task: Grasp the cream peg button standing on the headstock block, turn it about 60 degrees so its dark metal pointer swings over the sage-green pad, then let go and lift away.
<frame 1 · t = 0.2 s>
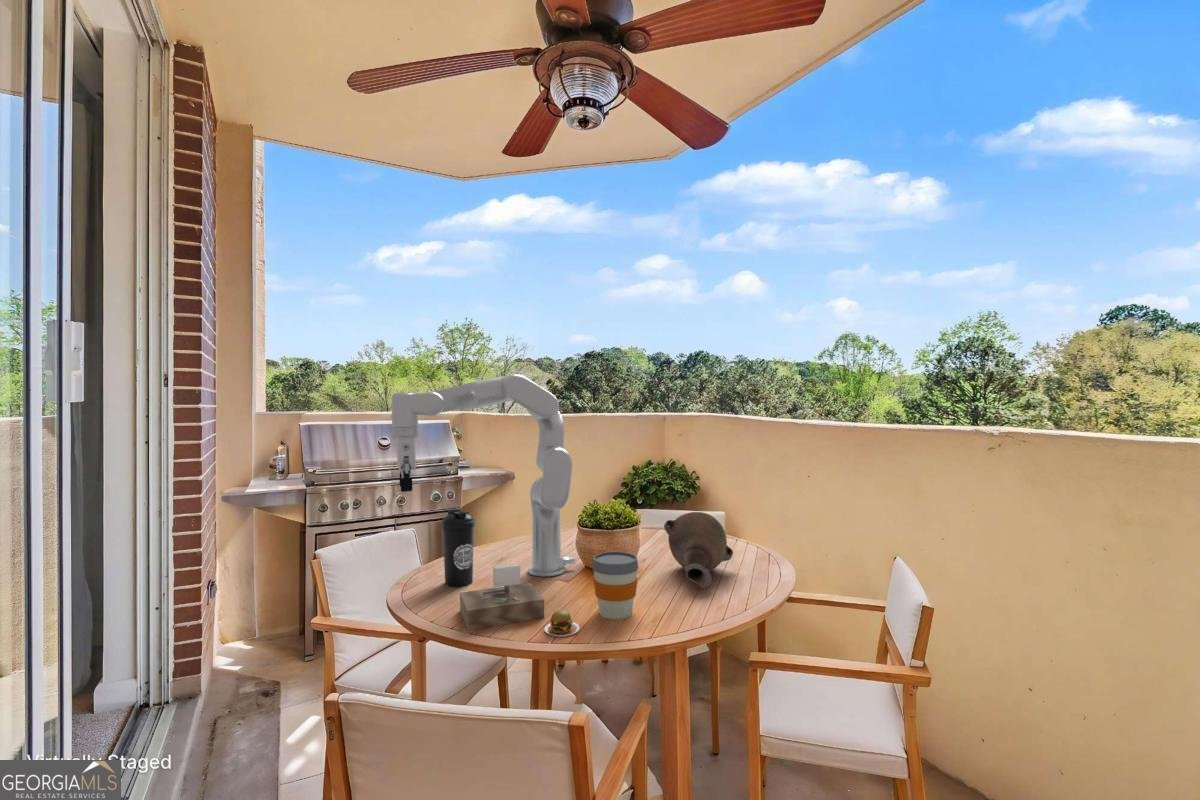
hand: (405, 488, 172), 31 cm above the table, fingers open, 9 cm apart
jug: (697, 576, 184), on the table
headstock: (501, 614, 153), on the table
peg: (501, 579, 155), point 9 cm above the table, hinge at 0.0°
hamburger: (562, 633, 142), on the table
water bottle: (458, 583, 179), on the table
reusable coffee cup: (615, 613, 153), on the table
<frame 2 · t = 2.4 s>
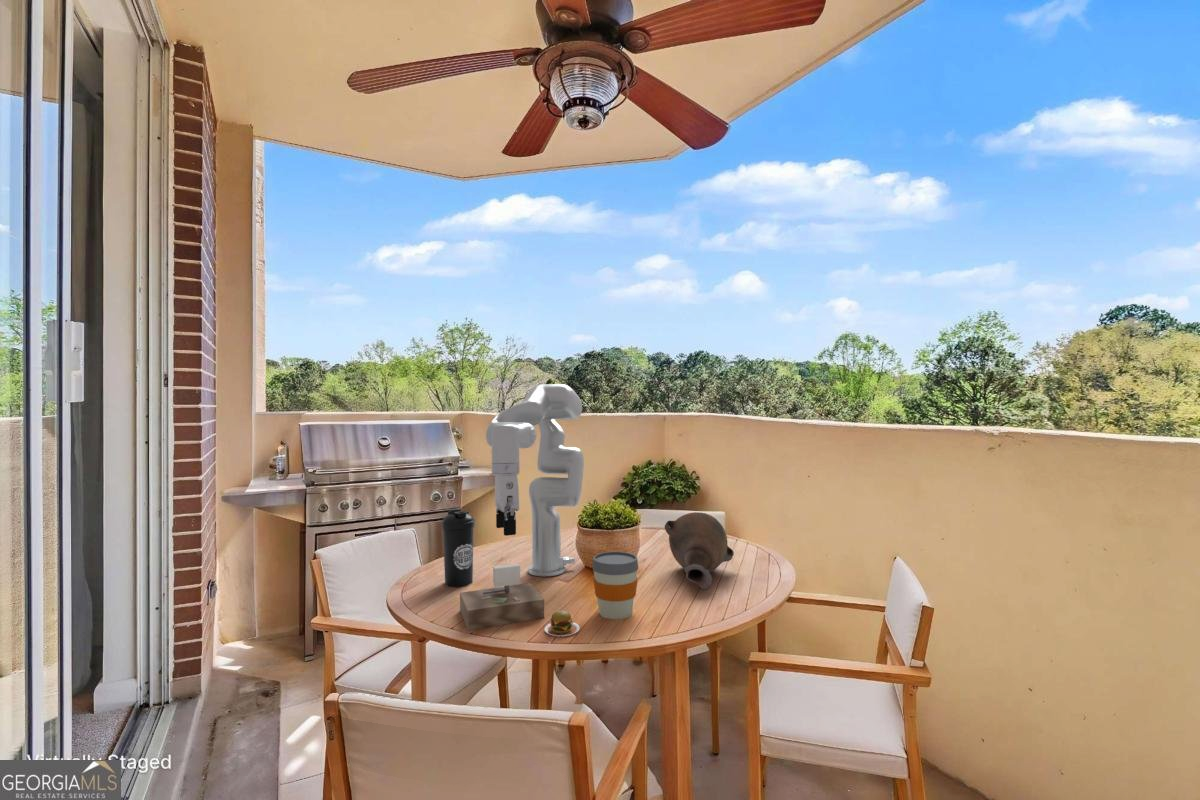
hand: (505, 531, 155), 22 cm above the table, fingers open, 9 cm apart
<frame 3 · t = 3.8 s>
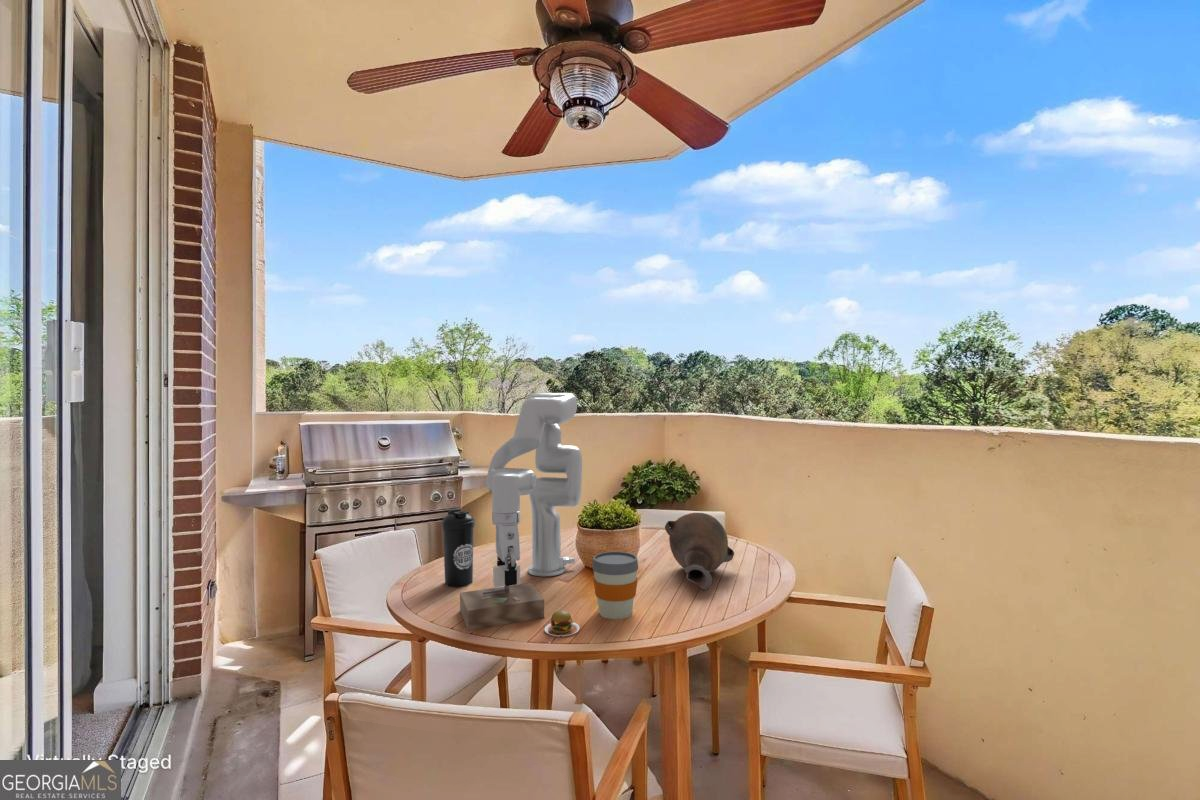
hand: (506, 579, 155), 9 cm above the table, fingers open, 9 cm apart
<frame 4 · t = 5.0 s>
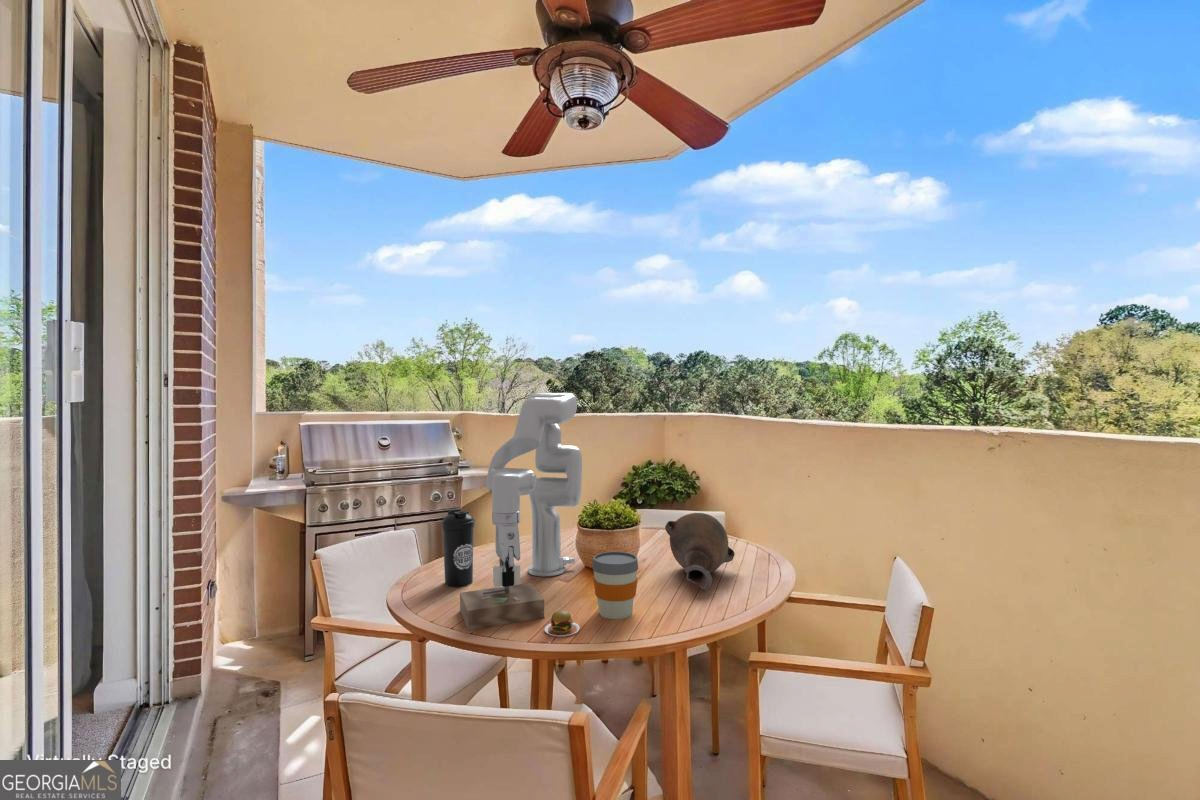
hand: (506, 583, 155), 7 cm above the table, fingers closed on peg, 2 cm apart
peg: (501, 579, 155), point 9 cm above the table, hinge at 0.1°, touching gripper
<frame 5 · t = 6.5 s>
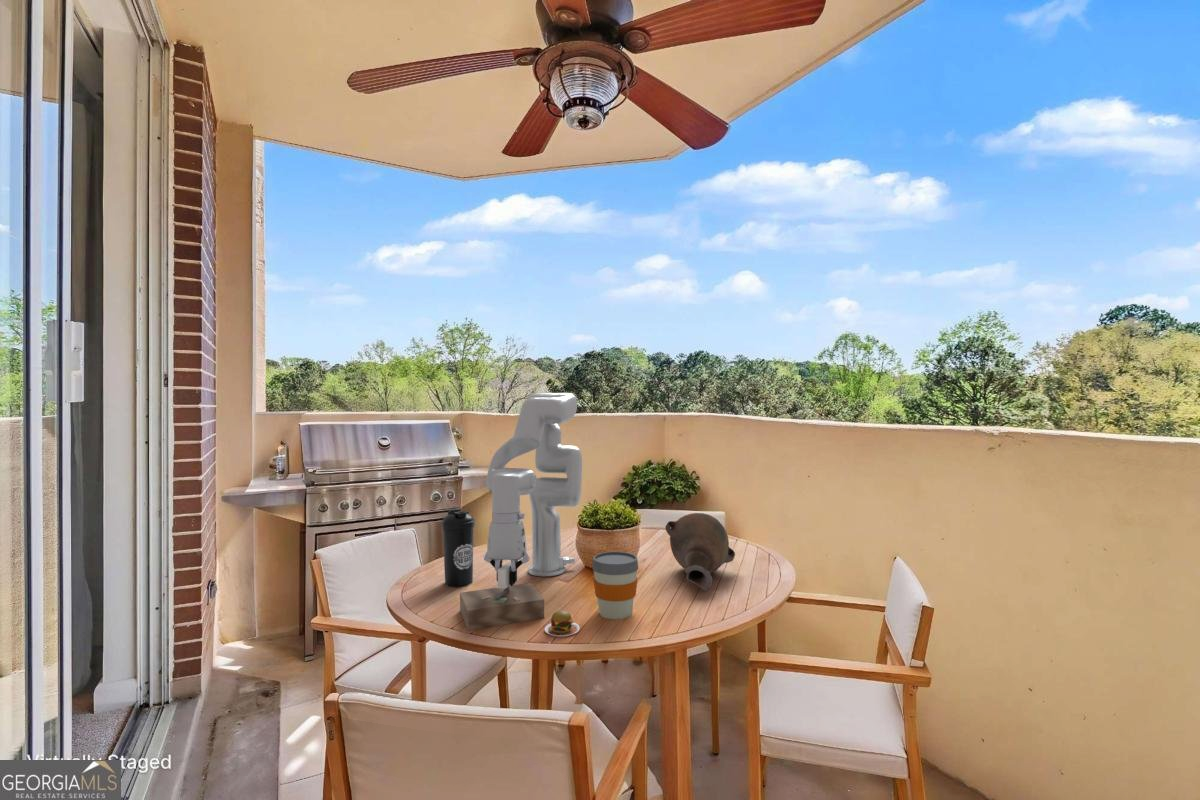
hand: (506, 583, 155), 7 cm above the table, fingers closed on peg, 2 cm apart
peg: (504, 580, 154), point 9 cm above the table, hinge at 53.8°, touching gripper
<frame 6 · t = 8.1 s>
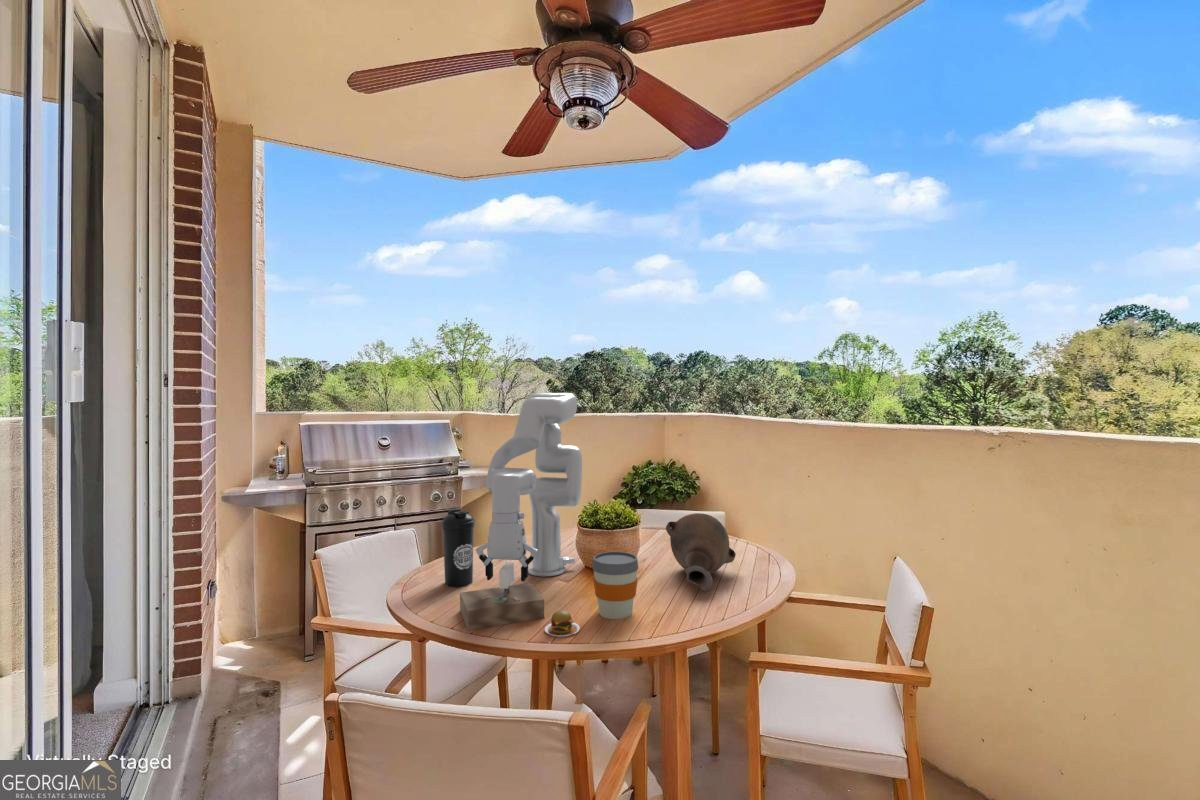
hand: (506, 579, 155), 9 cm above the table, fingers open, 9 cm apart
peg: (505, 580, 154), point 9 cm above the table, hinge at 62.4°
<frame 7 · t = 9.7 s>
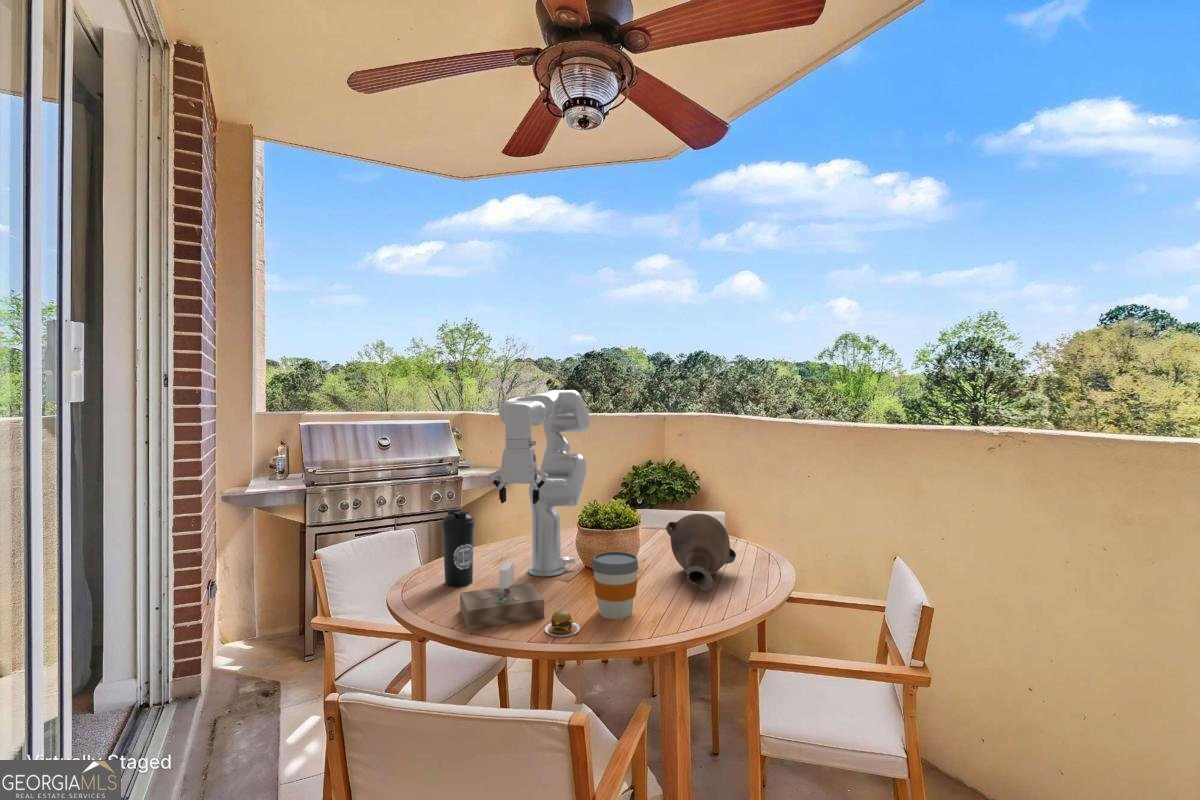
hand: (519, 502, 165), 28 cm above the table, fingers open, 9 cm apart
peg: (505, 580, 154), point 9 cm above the table, hinge at 63.4°
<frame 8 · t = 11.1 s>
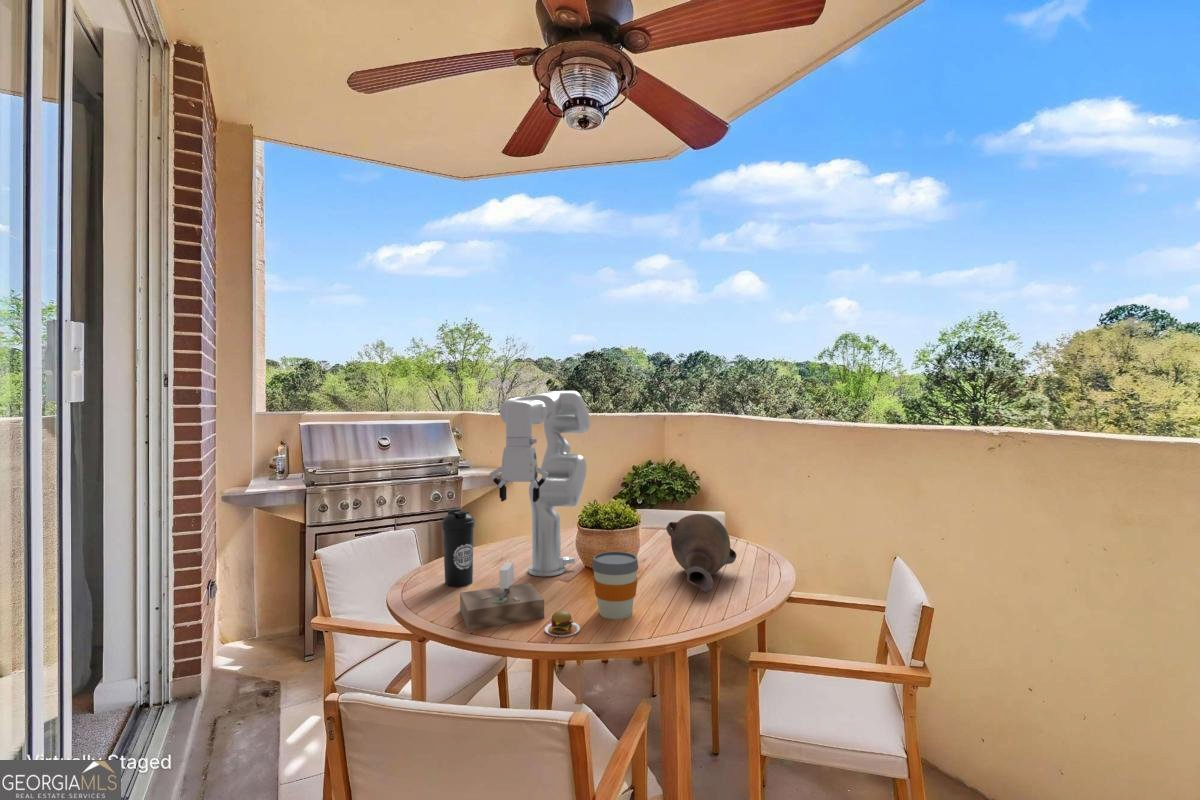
hand: (519, 500, 166), 28 cm above the table, fingers open, 9 cm apart
at the end: peg at +64° (first picture: +0°); the gripper is holding nothing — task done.
